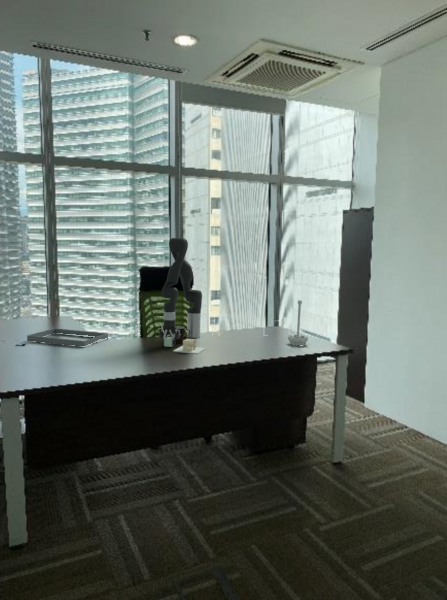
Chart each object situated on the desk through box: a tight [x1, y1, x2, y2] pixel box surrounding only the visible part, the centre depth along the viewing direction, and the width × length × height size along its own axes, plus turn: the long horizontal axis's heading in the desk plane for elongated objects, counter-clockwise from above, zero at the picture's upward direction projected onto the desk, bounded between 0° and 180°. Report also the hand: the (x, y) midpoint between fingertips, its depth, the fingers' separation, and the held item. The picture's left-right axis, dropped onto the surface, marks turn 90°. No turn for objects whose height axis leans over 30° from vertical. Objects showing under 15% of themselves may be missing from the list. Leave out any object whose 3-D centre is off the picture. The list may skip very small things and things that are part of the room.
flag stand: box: [287, 299, 309, 346], centre depth 299 cm, size 13×13×30 cm
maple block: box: [182, 338, 197, 351], centre depth 273 cm, size 6×6×6 cm
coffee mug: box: [174, 325, 190, 344], centre depth 295 cm, size 12×9×10 cm
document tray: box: [26, 327, 109, 346], centre depth 291 cm, size 27×42×4 cm, turn 73°
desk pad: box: [172, 345, 207, 355], centre depth 274 cm, size 14×16×1 cm
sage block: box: [163, 336, 173, 348], centre depth 284 cm, size 5×5×5 cm
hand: (169, 344), depth 284 cm, fingers closed on sage block, 5 cm apart
